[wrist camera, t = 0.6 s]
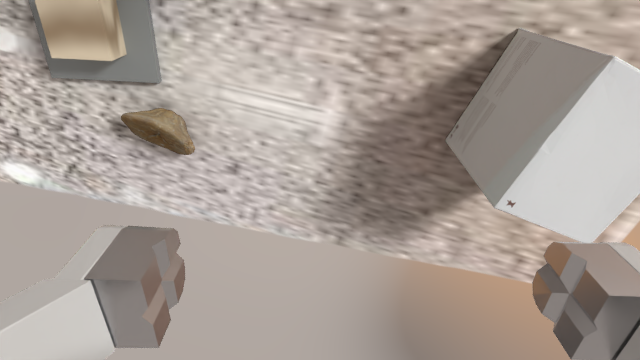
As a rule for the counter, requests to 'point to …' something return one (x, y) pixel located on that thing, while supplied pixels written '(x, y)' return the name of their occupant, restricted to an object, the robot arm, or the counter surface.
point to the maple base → (82, 29)
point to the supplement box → (554, 136)
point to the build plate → (126, 68)
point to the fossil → (161, 129)
